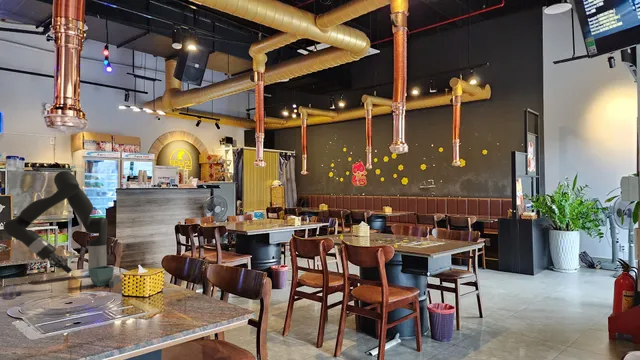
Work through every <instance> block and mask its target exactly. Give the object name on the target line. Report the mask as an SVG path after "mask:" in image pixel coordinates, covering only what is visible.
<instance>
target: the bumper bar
mask: <svg viewBox="0 0 640 360" xmlns="http://www.w3.org/2000/svg"><path fill="white" fill-rule="evenodd" d="M120 278H121V275H120V274H115V276H113V277H112V279H111V280H110V281H109V284H108V286H109V287H108V288H115V286H116V285H118V284H119V283H120V282H121V280H120Z"/></svg>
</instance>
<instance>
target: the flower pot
mask: <svg viewBox="0 0 640 360" xmlns="http://www.w3.org/2000/svg"><path fill="white" fill-rule="evenodd" d="M114 270H115V267H114V266H110V265H107V266H100V267H92V268H89V273H90V280H91V283H92V284H93V286H97V287H102V286H109V281H110V280H111V279H112V278H114Z"/></svg>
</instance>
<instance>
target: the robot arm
mask: <svg viewBox="0 0 640 360" xmlns="http://www.w3.org/2000/svg"><path fill="white" fill-rule="evenodd" d="M53 181H54V185H55V187H56V189H57V190H56V191H55V192H54V193H53V194H52V195H50V196H47V197H44V198H40V199H37V200H34V201H33V202H31V203H29V204H28V205H27V206H26V207H25V208H23V209H22V211H21V212H20V214H19V215H17V216H16V217H15V218H12V219H9V220H7V221H5V222H4V223H3V226H2V228H3V230H4V232H5V233H6V234H7V235H9V236H10V237H12V238H14V239H15V240H17V241H19V242H22V244H23V245H25V246H26V247H27V248H28V249H29V250H30V251H31V252H32V253H33V254H34V255H35V256H37V257H39V259H40V260H42V261H45V260H48V262H49V264H50V265H51V266H53V267H55V268H57V269H59V270H63V271H64V272H65V273H66V274H70V273H71V272H72V271H73V270H72V268H71V267H70V266H68V264H67V261H66V260H65V259H64V257H63V256H62V255H59V254H58V253H56V251H57V248H56V247H55V246H54V245H52V244H51V243H50V242H49V241H48V240H46V239H45V238H43V237H42V236H41V235H39V233H37V232H36V231H34V230H30V229H28V228H29V226H30V225H31V224H32V223H33V222H34V221H35V220H37V219H38V218H39V217H41V215H43V214H44V213H45V212H46V211H48V210H50V209H51V208H52V207H54V206H56V205H58V204H60V203H61V202H63V201H64V200H67V202H68V204H69V207H70V208H71V209H72V211H73V212H74V213H75V214H76V216H77V217H78V219H79V220H80V222H81V223H82V226H83V228H84V230H85V232H87V233H88V234H90V235H91V234H92V235H94V234H95V235H96V234H98V235H97V237H95V238H94V239H91V240H89V241H88V243H87V244H88V246H87V247H88V249H87V250H88V251H87V252H88V253H87V254H88V256H87V257H88V259H87V260H88V263H87V265H88V266H87V269H88V270H87V271H88V273H87V274H88V275H87V276H88V277H89V276H90V273H89V268H92V267H100V266H108V265H107V259H108V258H107V256H108V255H107V240H108V227H109V226H108V223H109V222H108V219H107V217H103V216H101V217H92V216H91V215H92V212H93V211H94V205H93V203H92V202H91V200H90V199H89V197H88V195H86V193H85V192H84V191H83V189H81V187H80V184H79V182H78V180H77V178H76V176H75V175H74V173H72V172H70V171H66V170H62V171H61V170H60V171H59V172H57V173H56V174H55V176H54V178H53Z"/></svg>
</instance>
